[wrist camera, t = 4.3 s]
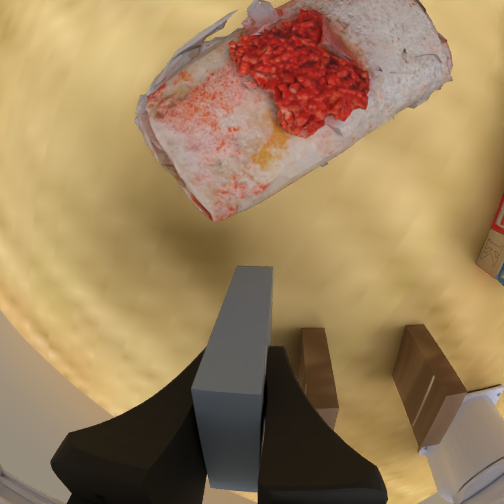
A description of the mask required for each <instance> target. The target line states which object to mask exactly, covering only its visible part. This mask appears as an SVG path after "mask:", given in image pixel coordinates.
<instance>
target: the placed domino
mask: <svg viewBox="0 0 504 504" xmlns="http://www.w3.org/2000/svg"><path fill="white" fill-rule="evenodd" d="M272 289H273V267H259V266H237V268H236V270H235V273H234V276H233V278H232V281H231V283H230V286H229V289H228V291H227V294H226V297H225V299H224V302H223V305H222V307H221V310H220V313H219V315H218V318H217V320H216V323H215V326H214V328H213V331H212V334H211V336H210V339H209V342H208V344H207V347H206V350H205V352H204V355H203V358H202V360H201V363H200V366H199V369H198V371H197V374H196V377H195V379H194V382H193V385H192V387H191V392H192V398H193V404H194V409H195V415H196V420H197V426H198V431H199V436H200V441H201V446H202V451H203V456H204V461H205V465H206V470H207V474H208V479H209V483H210V487H211V488H216V489H225V490H234V491H245V492H258V476H259V469H260V462H261V455H262V447H263V439H264V430H265V389H266V363H267V354H268V346H271V324H272Z"/></svg>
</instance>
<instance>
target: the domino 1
mask: <svg viewBox="0 0 504 504" xmlns="http://www.w3.org/2000/svg"><path fill="white" fill-rule="evenodd" d="M298 382H299V384H300V386H301V388H302V390H303V391H304V393H305V395H306V396H307V398H308V399H309V401H310V402H311V404H312V405H313V407H314V408H315V410H316V411H317V412H318V413H319V415H320V416H321V417H322V418H323V420H324V421H325V422H326V423H327V424H328V426H329V427H330V428H331V429H332V430H334V426H335V422H336V418H337V414H338V410H339V406H338V400H337V394H336V388H335V382H334V376H333V371H332V365H331V360H330V354H329V349H328V344H327V339H326V334H325V329H324V328H302V338H301V351H300V363H299V374H298Z"/></svg>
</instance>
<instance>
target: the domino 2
mask: <svg viewBox="0 0 504 504" xmlns="http://www.w3.org/2000/svg"><path fill="white" fill-rule="evenodd" d="M392 376H393V379H394V381H395V384H396V386H397V389H398V391H399V394H400V397H401V399H402V402H403V404H404V407H405V410H406V412H407V415H408V418H409V420H410V423H411V426H412V429H413V431H414V434H415V437H416V440H417V443H418V446H419V448H423V447H427V446H432V445H437V444H440V442H441V440H442V439H443V437H444V435H445V434H446V432H447V430H448V428H449V427H450V425H451V423H452V421H453V419H454V417H455V416H456V414H457V412H458V410H459V408H460V406H461V404H462V402H463V400H464V398H465V396H466V394H467V390H466V389H465V387H464V385H463V384H462V382H461V380H460V379H459V377H458V376H457V374H456V372H455V371H454V369H453V368H452V366H451V364H450V363H449V361H448V360H447V358H446V357H445V355H444V354H443V352H442V351H441V349H440V348H439V346H438V345H437V343H436V342H435V340H434V339H433V337H432V336H431V334H430V333H429V331H428V330H427V328H426V327H425V325H424V324H423V325H407V326H406V327H405V331H404V335H403V339H402V343H401V347H400V351H399V354H398V358H397V361H396V365H395V368H394V372H393V375H392Z"/></svg>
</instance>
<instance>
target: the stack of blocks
mask: <svg viewBox="0 0 504 504" xmlns="http://www.w3.org/2000/svg"><path fill="white" fill-rule="evenodd" d="M476 265H477V266H479V267H480V268H482V269H483V270H484V271H486V272H487V273H488V274H489V275H491V276H492V277H493V278H495V279H497V280H498V281H499V282H500V283H501V284H502V285H503V286H504V194H503V197H502V200H501V203H500V206H499V209H498V211H497V214H496V217H495V219H494V222H493V225H492V227H491V230H490V231H489V234H488V236H487V239H486V241H485V243H484V246H483V248H482V250H481V252H480V255H479V257H478V259H477V261H476Z"/></svg>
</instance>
